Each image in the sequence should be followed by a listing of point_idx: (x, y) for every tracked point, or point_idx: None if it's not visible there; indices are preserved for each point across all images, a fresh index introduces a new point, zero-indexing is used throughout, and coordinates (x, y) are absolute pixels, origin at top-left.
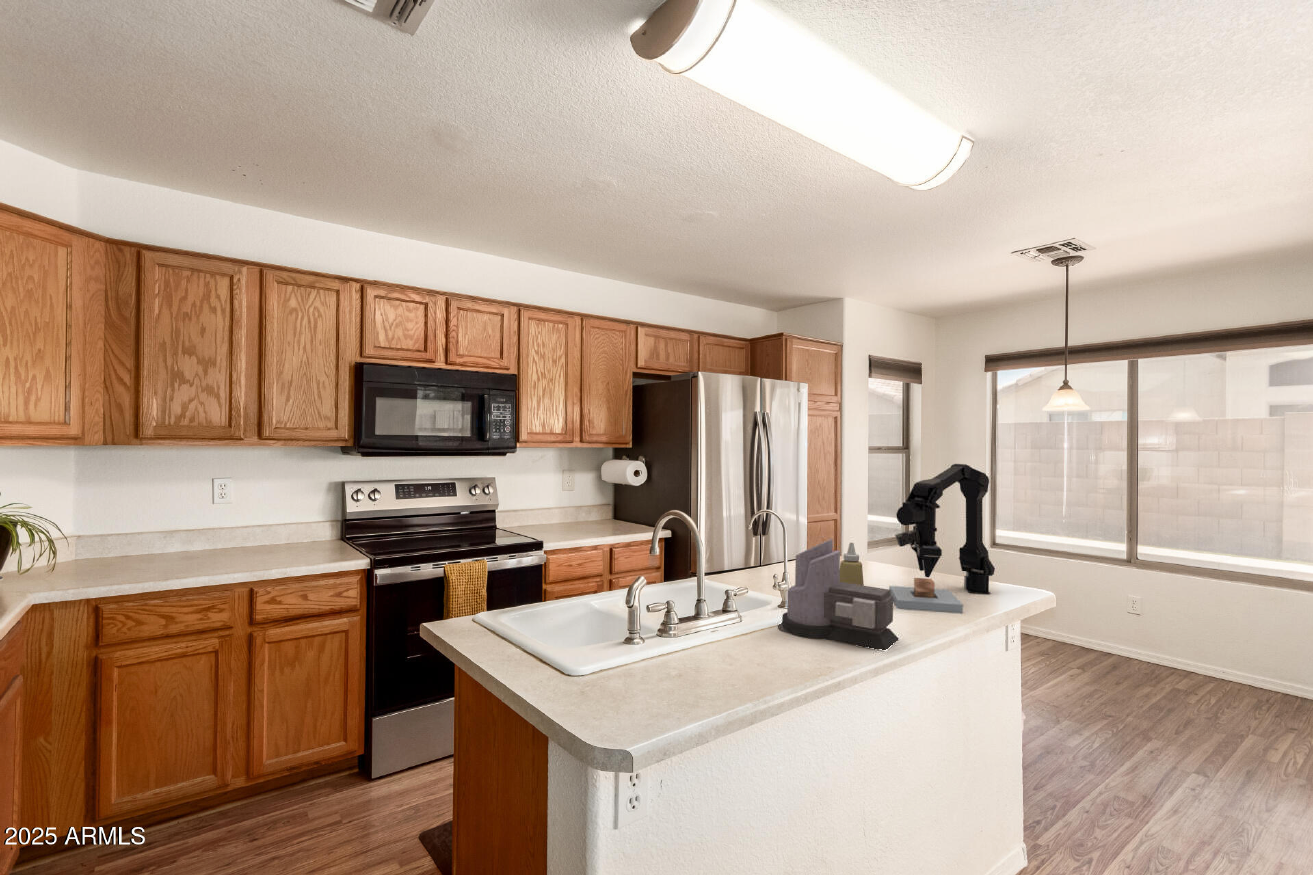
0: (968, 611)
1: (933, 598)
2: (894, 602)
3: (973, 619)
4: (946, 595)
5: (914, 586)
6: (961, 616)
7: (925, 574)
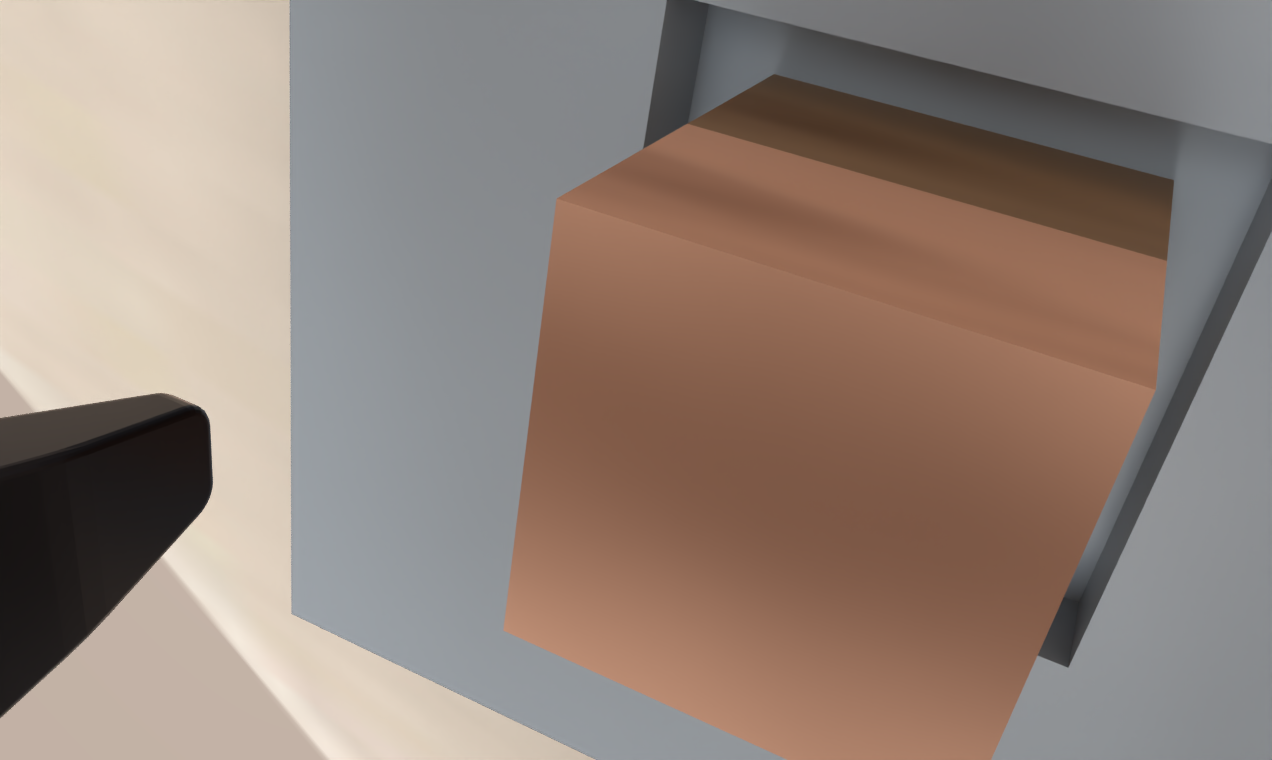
0: None
1: None
2: None
3: None
4: None
5: (1084, 252)
6: (237, 440)
7: (71, 416)
